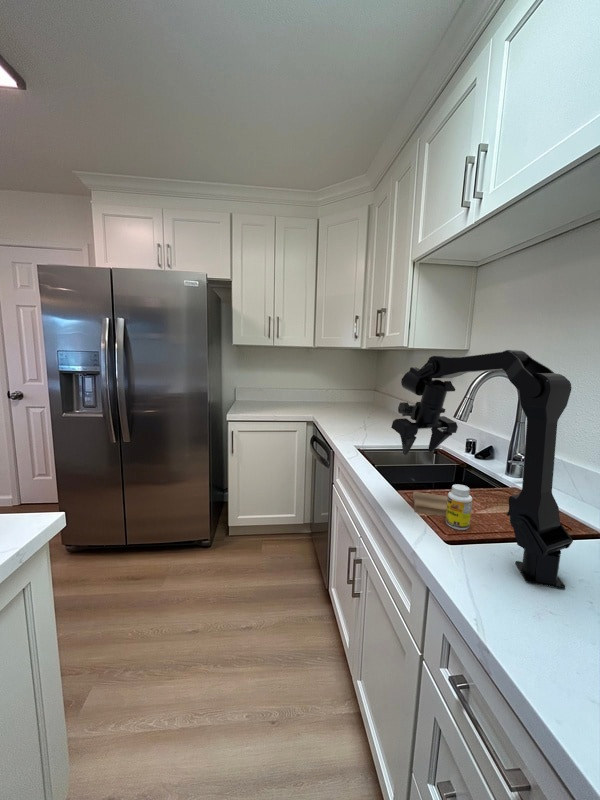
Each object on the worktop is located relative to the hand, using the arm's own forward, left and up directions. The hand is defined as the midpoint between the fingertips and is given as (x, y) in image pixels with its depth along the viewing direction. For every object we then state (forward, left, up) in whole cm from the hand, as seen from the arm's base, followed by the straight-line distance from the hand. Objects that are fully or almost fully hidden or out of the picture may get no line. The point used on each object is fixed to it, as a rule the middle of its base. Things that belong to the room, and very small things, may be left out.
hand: (417, 453), depth 95 cm
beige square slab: (0, -5, -15) cm, 16 cm away
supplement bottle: (-9, -10, -16) cm, 21 cm away
